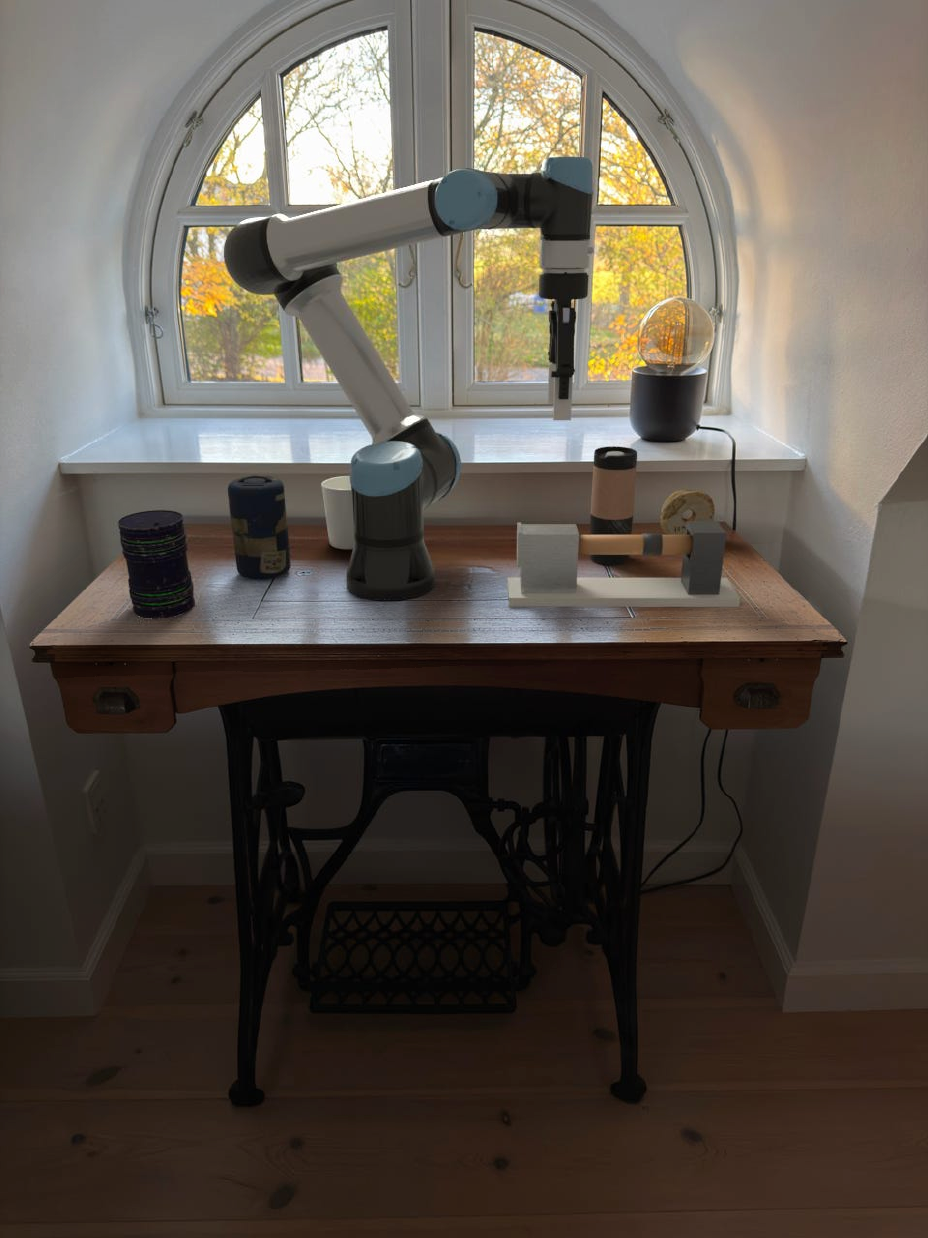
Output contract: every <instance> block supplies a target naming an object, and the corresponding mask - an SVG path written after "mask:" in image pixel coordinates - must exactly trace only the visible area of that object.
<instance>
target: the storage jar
mask: <svg viewBox="0 0 928 1238" xmlns="http://www.w3.org/2000/svg"><path fill="white" fill-rule="evenodd" d="M117 525H118V529H119V541H120V546H121V547H122V548H121V549H122V552H121V553H122V554H123V558H124V559H125V562H126V568H127V573H128V579H127V581H128V587H129V589H128V592H129V597H130V599H131V603H132V605H133V607H132V610H133V614H134V613H135V614H136V615H137V616H136V615H135V614H134V615H135V616H136V617H138V616H140V617H139V618H141V617H142V619H145V618H150V619H149V620H162V619H161V618H166V619H170V617H172V618H175V617H174V616H176V617H179V616H181V615H180V614H182V615H184V614H183V613H185V614H186V612H187V613H189V612H190V611H192V610H193V609H194V608H195V606H196V601H195V599H194V595H195V592H194V583H193V579H192V573H191V571H190V567H189V563H188V557H187V556H188V555H187V552H188V542H187V535H186V529H185V525H184V517H183V514H182V513H180V512H177V511H175V510H167V509H159V510H157V509H156V510H147V511H146V510H145V511H138V512H134V513H130V514H128V515H125V516H123V517H121V518H120V519H119V520H118V521H117ZM193 607H194V608H193ZM192 608H193V609H192ZM191 609H192V610H191ZM188 611H189V612H188ZM178 615H179V616H178ZM151 618H152V619H151ZM159 618H160V619H159Z"/></svg>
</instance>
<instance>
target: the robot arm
mask: <svg viewBox="0 0 928 1238" xmlns="http://www.w3.org/2000/svg"><path fill="white" fill-rule="evenodd" d="M541 164H542V166H541V168H540V172H533V173H500V172H490V171H485V170H478V169H476V168H470V167H465V168H460V169H454V170H452V171H450V172H448V173H447V174H445V175H444V176H443V177H439V178H437V179H432V180H429V181H424V182H420V183H416V184H414V185H413V184H412V185H410V186H407V187H402V188H398V189H393V190H391V191H387V192H384V193H379V194H376V195H373V196H370V197H365V198H361V199H358V200H357V199H356V200H354V201H350V202H347V203H343V204H339V205H336V206H332V207H328V208H324V209H321V210H316V211H313V212H309V213H305V214H302V215H298V216H286V215H284V214H282V213H277V214H273V215H269V216H265V217H252V218H247V219H245V220H242V221H240V222H238V223H237V224H236V225H234V226H233V227H232V228H231V230H230V231H229V233H228V235H227V236H226V239H225V242H224V244H223V245H224V246H223V260H224V264H225V267H226V270H227V273H228V274H229V275H230V277H231V278H232V280H233V281H234V282H235V283H236V284H237V285H238V286H239V287H240V288H242V289H243V290H245V291H247V292H249V293H251V294H255V295H261V296H268V295H270V296H271V295H273V296H274V297H275V299H276V301H278V303H279V305H280V307H281V309H282V310H283V311H284V313H285V314H286V316H287V315H288V316H291V317H295V318H298V319H299V322H300V323H301V324H302V326H303V328H304V329H305V330H306V332H307V334H308V336H309V337H310V339H311V340H312V342H313V344H314V346H316V349H317V350H318V351H319V354H320V355H321V356H322V358H323V360H324V362H325V363H326V365H327V366H328V368H329V369H330V371H331V373H332V374H333V376H334V378H335V380H336V381H337V383H338V384H339V386H340V387H341V389H342V391H343V393H344V394H345V396H346V397H347V399H348V401H349V403H350V404H351V405H352V407H353V409H354V411H355V412H356V414H357V416H358V417H359V419H360V420H361V421H362V423H363V426H364V427H365V429H366V430H367V432H368V434H369V435H370V437H371V439H372V443H371V444H368V445H365V446H363V447H362V448H360V449H358V450H357V451H356V452H354V454H353V455H352V457H351V459H350V468H349V469H350V472H349V476H350V484H351V495H352V510H353V525H354V540H355V543H354V547H353V549H352V552H351V555H350V559H349V563H348V567H347V569H346V570H347V571H346V575H345V577H346V578H345V579H346V588H347V590H348V591H349V592H350V593H351V594H353V595H354V596H357V597H359V598H363V599H367V600H373V601H399V600H407V599H408V600H409V599H412V598H417V597H419V596H422V595H424V594H426V593H429V592H430V591H431V590H432V589H433V588H434V586H435V585H436V573H435V572H436V571H435V567H434V565H433V562H432V560H431V556H430V554H429V551H428V548H427V546H426V543H425V539H424V537H425V536H424V510H426V509H427V508H429V507H430V506H432V505H433V504H434V503H436V502H438V501H440V500H441V499H443V498H445V497H446V496H447V495H449V493H450V492H451V491H452V489H454V487H455V486H456V484H457V483H458V482H459V479H460V476H461V470H462V461H461V460H462V459H461V455H460V452H459V450H458V447H457V446H456V444H455V443H454V442H453V441H452V439H451V438H449V437H448V436H447V435H445V434H442V433H440V432H438V431H436V429H435V428H434V427H433V425H432V423H431V422H430V421H429V420H430V419H428V417H427V416H425V415H421V414H418V413H415V412H414V411H413V409H412V408H411V405H410V404H409V402H408V401H407V399H406V397H405V395H404V394H403V392H402V391H401V389H400V387H399V386H398V383H396V380H395V379H394V377H393V376H392V373H391V372H390V371H389V369H388V367H387V365H386V364H385V363H384V360H383V359H382V357H381V356H380V354H379V352H378V351H377V349H376V347H375V346H374V344H373V343H372V341H371V338H370V337H369V336H368V334H367V332H366V331H365V330H364V328H363V326H362V324H361V323H360V320H359V319H358V318H357V316H356V315H355V312H354V311H353V309H352V307H351V306H350V304H349V303H348V301H347V300H346V297H344V296H345V295H344V294H343V293H342V285H343V280H344V277H343V276H342V274H341V271H340V270H339V269H338V263H341V262H345V261H350V260H354V259H359V258H362V257H365V256H366V257H367V256H370V255H374V254H378V253H379V254H380V253H382V252H383V253H384V252H386V251H392V250H396V249H399V248H403V247H407V246H411V245H415V244H420V243H423V242H428V241H431V240H436V239H440V238H444V237H449V236H450V237H451V236H454V235H458V234H462V233H468V232H471V231H477V230H499V229H500V230H501V229H502V230H504V229H505V230H506V229H512V230H513V229H540V236H539V237H540V240H539V251H538V252H539V254H538V255H539V258H538V261H539V262H538V267H539V268H540V269H542V272H540V274H539V275H538V276H539V278H538V296H539V298H541V299H543V300H551V303H550V307H551V310H548V322H549V326H548V328H549V343H548V344H549V346H548V348H549V349H548V352H547V355H548V361H549V363H548V376H547V377H548V382H547V383H548V384H547V404H548V405H553V409H552V413H553V414H552V415H553V416H552V420H553V421H571V420H572V404H573V403H572V402H573V383H574V382H573V380H574V378H573V376H574V374H575V373H576V369H575V336H576V335H575V333H576V326H575V325H576V320H577V311H576V310H575V309H576V308H575V307H572V305H573V303H572V301H573V300H583V299H586V298H587V297H588V293H589V274H588V272H585V270H586V269H588V268H589V267H590V256H589V255H592V254H593V253H594V247H592V246H590V244H591V243H590V242H591V241H590V240H591V227H592V225H591V224H592V209H593V195H594V189H593V185H594V184H593V180H594V179H593V175H594V174H593V172H594V171H593V168H594V167H593V163H592V161H591V160H590V159H589V158H588V157H584V156H555V157H554V156H551V157H546V158H544V160H543V161H542V163H541Z"/></svg>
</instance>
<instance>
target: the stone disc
mask: <svg viewBox="0 0 928 1238" xmlns="http://www.w3.org/2000/svg"><path fill="white" fill-rule="evenodd" d="M688 510H690V511H691V512H692V513H691V514H690V515H689V516H688V517H687V518H684V517H683V516H684V514H685V512H686V511H688ZM715 510H716V509H715V504H714V501H713V499H712V497H711V496H710V495H709V494H707V493H706V492H705V491H701V490H697V489H680V490H676V491H675V492H673V493H671V494H669V496H667V498H666V500H665V501H664V502H663V505H662V507H661V511H660V517H659V521H660V523H659V524H660V526H661V530H662V531H663V532H664V534H665V535H685V532H686V522H687V521H715Z"/></svg>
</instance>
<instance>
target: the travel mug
mask: <svg viewBox="0 0 928 1238" xmlns="http://www.w3.org/2000/svg"><path fill="white" fill-rule="evenodd" d="M637 463H638V451H637V450H636V449H635V448H630V447H626V446H613V445H612V446H602V447H598V448H595V450H594V453H593V470H592V485H591V486H592V487H591V500H590V501H591V502H590V520H589V521H590V527H589V528H590V529H589V535H633V534H632V531H633V522H634V521H633V520H634V515H635V514H634V512H635V511H634V510H635V496H636V495H635V494H636V481H637V480H636V478H637ZM589 559H590V560H591V562H594V563H596V564H599V565H604V566H619V565H623V564H626V563H628V562H629V559H630V555H589Z"/></svg>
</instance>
